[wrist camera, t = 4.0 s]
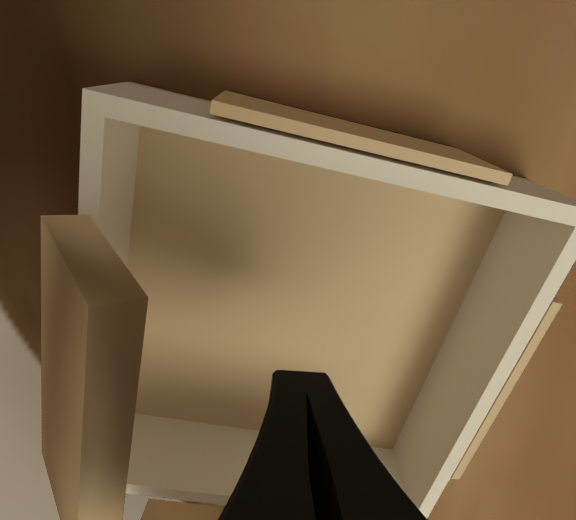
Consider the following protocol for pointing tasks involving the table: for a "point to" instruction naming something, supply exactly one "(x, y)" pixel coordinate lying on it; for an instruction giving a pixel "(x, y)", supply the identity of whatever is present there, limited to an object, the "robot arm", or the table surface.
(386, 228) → the carton
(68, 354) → the flap
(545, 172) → the table surface
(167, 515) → the flap
